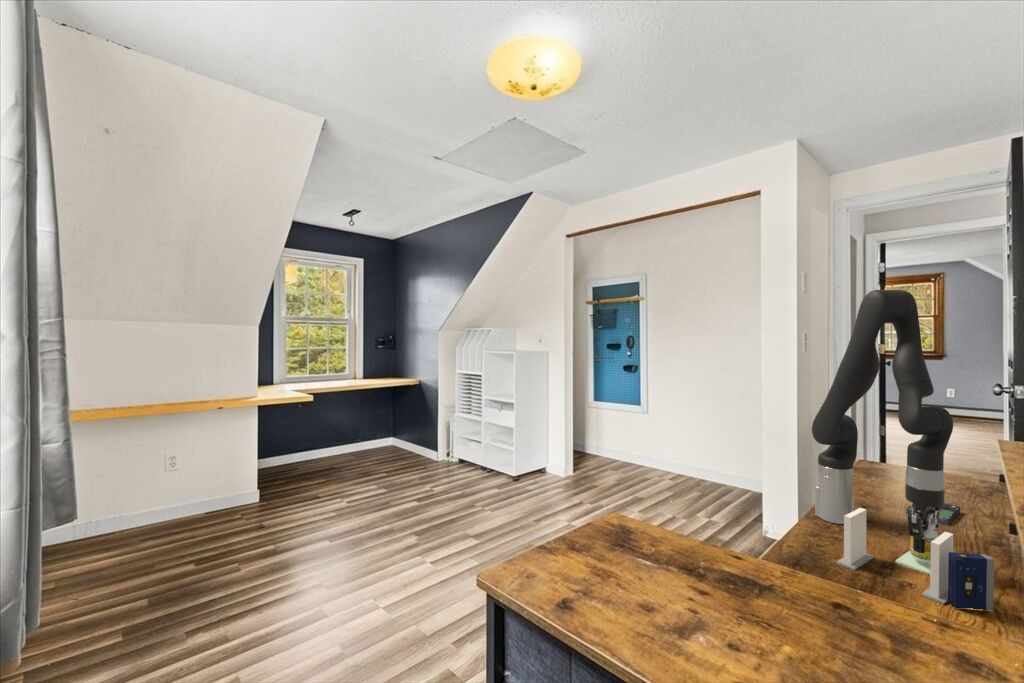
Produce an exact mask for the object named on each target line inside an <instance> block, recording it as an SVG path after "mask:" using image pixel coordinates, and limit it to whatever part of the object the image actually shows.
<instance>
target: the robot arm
mask: <svg viewBox="0 0 1024 683" xmlns="http://www.w3.org/2000/svg"><path fill="white" fill-rule="evenodd" d="M884 324H892V326H893V327H894V331H895V333H896V347H895V350H894V354H893V358H892V362H891V364H892V365H891V367H892V368H891V369H892V374H893V377H894V380H895V384H896V387H897V390H898V406H897V407H898V410H897V411H898V412H897V413H898V414H897V418H898V422H899V424H900V426H901V428H902V429H903V430H904V431H905V432H907V433H908V434H909V435H913V436H917V435H918V436H921V438H920V439H919V440H916V441H914V442H911V443H909V444H908V446H907V449H906V450H907V451H906V469H905V486H904V488H905V490H904V492H905V494H904V495H905V499H906V501H907V502H910V503H912V504H914V508H913V509H912V513H911V514H908V516H907V523H908V524H907V525H908V535H909V537H911V536H913V550H914V551H916V552H919V553H922V554H923V553H925V539H926V532H927V531H929V530H930V523H931V521H932V522H933V523H935V529H934V530H935V531H936V532H937V529H938V528H939V526H940V525H939V514H940V507H942V506H943V505H944V503H945V493H946V492H945V490H946V489H945V485H946V484H945V478H946V476H945V472H944V458H945V457H944V455H945V451H946V449H947V447H948V443H949V441H950V438H951V436H952V433H953V430H954V420H953V416H952V415H951V413H950V412H949V411H948V410H947V409H946V408H944V407H942V406H937V405H936V406H934V405H933V406H932V405H930V406H922V403H923V399H924V398H927V397H930V396H931V395H933V394H934V391H935V389H934V384H933V382H932V379H931V376H930V373H929V370H928V367H927V363H926V361H925V357H924V352H923V346H922V336H921V328H920V318H919V311H918V305H917V301H916V299H915V297H914V296H913V294H912V293H910V292H909V291H907V290H903V289H873V290H871V291H869V292H868V293H867V294H865V295H864V297H863V298H862V300H861V303H860V306H859V307H858V312H857V316H856V319H855V323H854V326H853V330H852V332H851V333H852V334H851V336H850V339H849V340H848V341H849V342H848V344H847V347H846V349H845V350H846V351H845V352H844V354H843V357H842V359H841V361H840V364H839V366H838V368H837V371H836V374H835V376H834V379H833V382H832V383H831V386H830V388H829V390H828V393H827V395H826V398H825V400H823V403H822V405H821V407H820V409H819V410H818V412H817V414H816V415H815V417H814V419H813V422H812V426H811V433H812V437H813V439H814V440H815V442H817V444H820V445H824V446H828V447H827V448H826V449H825V450H823V451H822V452H820V453H819V454H818V456H817V485H816V486H815V487H814V503H815V504H814V515H816V517H818V518H819V519H822V520H823V521H826V522H828V523H832V524H833V523H834V524H839V525H844V516H845V515H847V514H849V513H851V512H853V511H854V463H855V461H856V459H857V454H858V440H859V432H858V427H857V424H856V421H855V420H854V419H853V418H852V417H851V416H850V415H846V414H847V411H849V409H850V408H851V407H852V406H853V405H854V404H855V403H857V402H858V401H860V399H862V398H863V397H864V396H865V395H866V394H867V393H868V392H869V391H870V390H871V388H872V386H873V385H874V383H875V380H876V377H878V374H879V372H880V369H881V365H880V363H881V362H880V357H879V354H878V350H877V346H876V345H877V344H876V343H877V338H878V335H879V332H880V331H881V328H882V326H883V325H884ZM922 524H923V525H926V526H922ZM917 530H918V533H917V532H916V531H917Z"/></svg>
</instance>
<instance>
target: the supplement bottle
mask: <svg viewBox="0 0 1024 683" xmlns="http://www.w3.org/2000/svg"><path fill="white" fill-rule="evenodd" d="M922 526H926V525H923V524H922ZM934 529H935V523H933V522H932V521H931V523H930V530H929V531H927V532H926V539H925V553H923V554H922V553H919V552H916V551H914V550H913V536H910V551H911V555H912V557H914V558H915V559H917V560H920V561H923V562H928V563H931V542H932V541H933V540H934V539H936V538H937V537H939V533H938V532H937V530H936V531H935V530H934ZM916 532H917V533H918V530H917V531H916Z"/></svg>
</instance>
